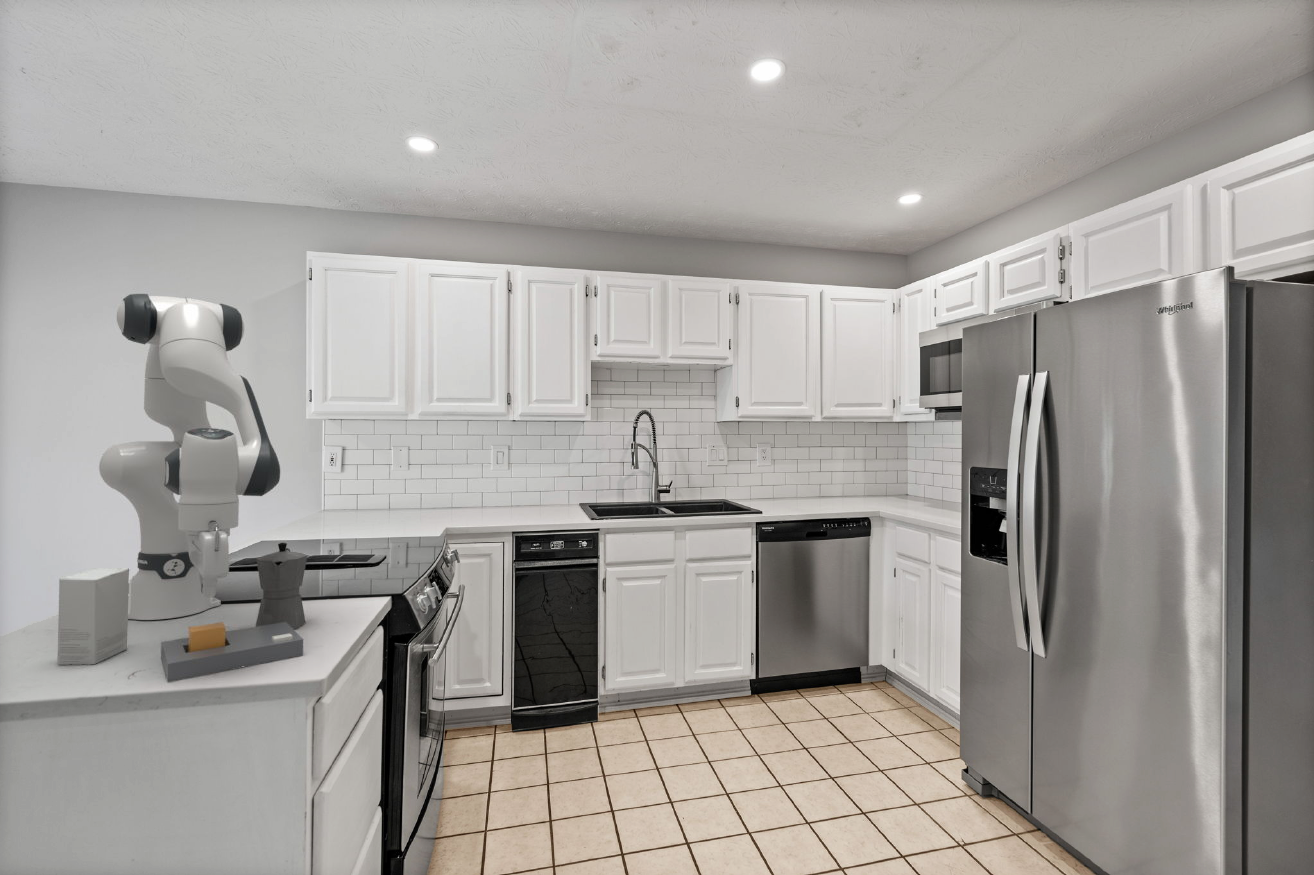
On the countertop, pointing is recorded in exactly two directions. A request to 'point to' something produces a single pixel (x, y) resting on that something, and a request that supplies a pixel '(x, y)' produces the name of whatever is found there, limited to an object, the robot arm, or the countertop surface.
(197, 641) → the plug
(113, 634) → the skincare box
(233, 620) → the countertop surface
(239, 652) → the socket plate
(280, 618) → the coffeepot
